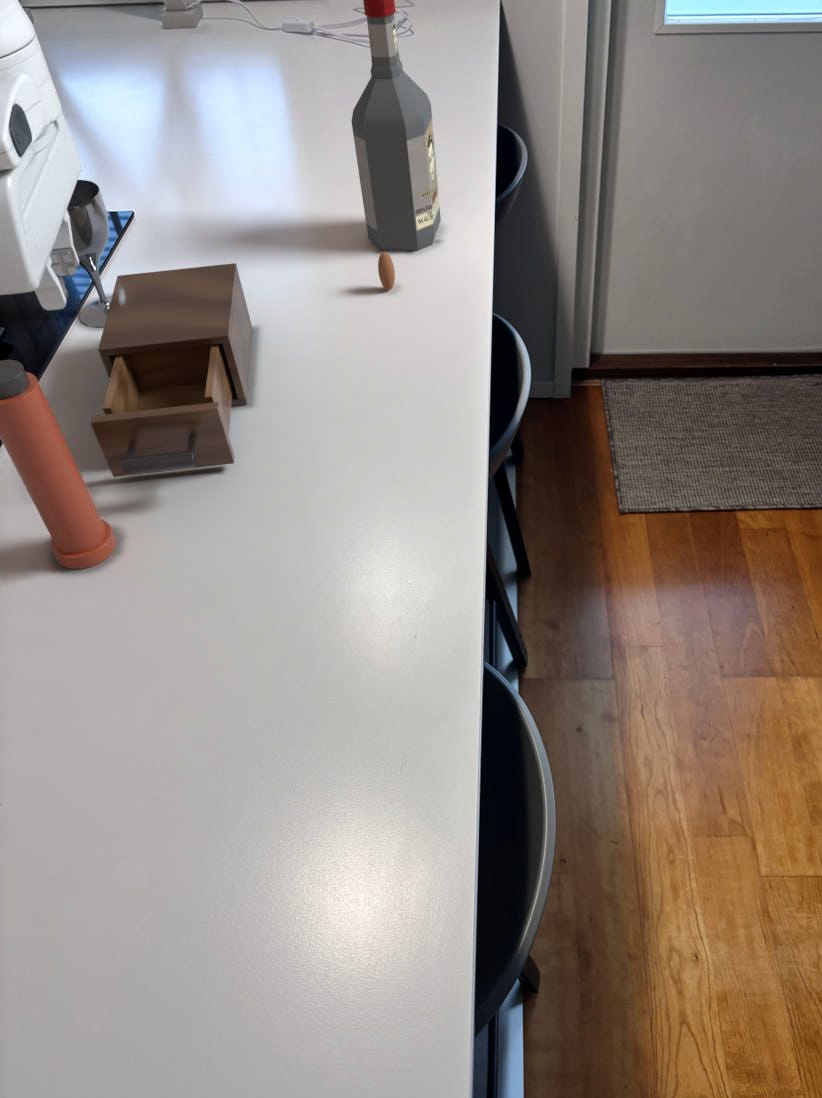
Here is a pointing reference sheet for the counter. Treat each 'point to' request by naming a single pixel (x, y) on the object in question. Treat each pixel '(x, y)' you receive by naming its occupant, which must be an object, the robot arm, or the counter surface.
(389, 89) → the liquor
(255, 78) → the counter surface
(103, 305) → the wine glass
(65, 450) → the pepper mill
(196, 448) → the drawer
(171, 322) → the cabinet
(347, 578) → the counter surface
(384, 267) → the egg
